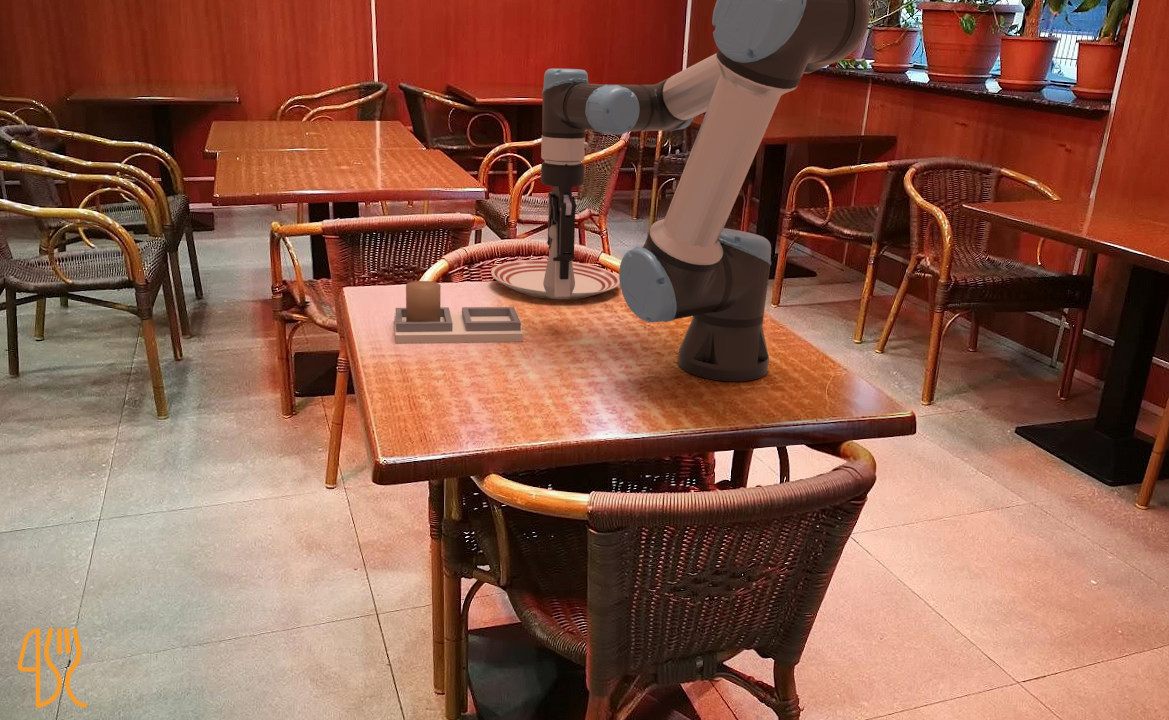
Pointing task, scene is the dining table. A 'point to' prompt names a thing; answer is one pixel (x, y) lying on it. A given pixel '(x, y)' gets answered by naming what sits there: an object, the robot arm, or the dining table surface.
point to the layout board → (451, 320)
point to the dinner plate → (532, 272)
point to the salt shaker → (550, 269)
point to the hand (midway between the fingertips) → (559, 291)
